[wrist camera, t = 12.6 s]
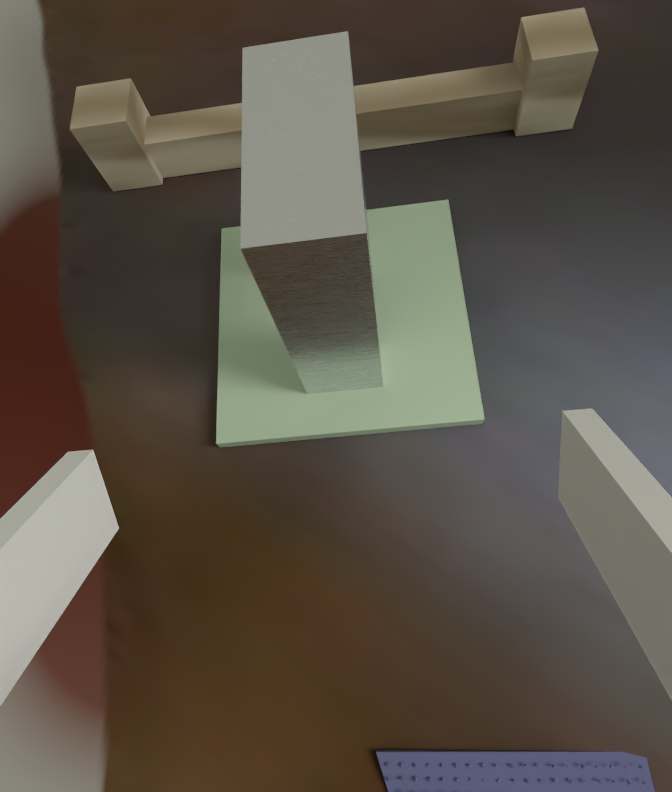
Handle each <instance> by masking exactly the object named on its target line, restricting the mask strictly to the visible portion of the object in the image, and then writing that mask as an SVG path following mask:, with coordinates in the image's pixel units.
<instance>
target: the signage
mask: <svg viewBox="0 0 672 792" xmlns="http://www.w3.org/2000/svg"><path fill="white" fill-rule="evenodd" d="M376 754H377V757H378V760H379V764H380V767H381V770H382V773H383V777H384V780H385V783H386V786H387V789H388V792H655V791H654V787H653V783H652V779H651V774H650V770H649V766H648V762H647V758H645V757H641V756H637V755H633V754H629V753H625V752H580V751H410V750H376Z"/></svg>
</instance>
